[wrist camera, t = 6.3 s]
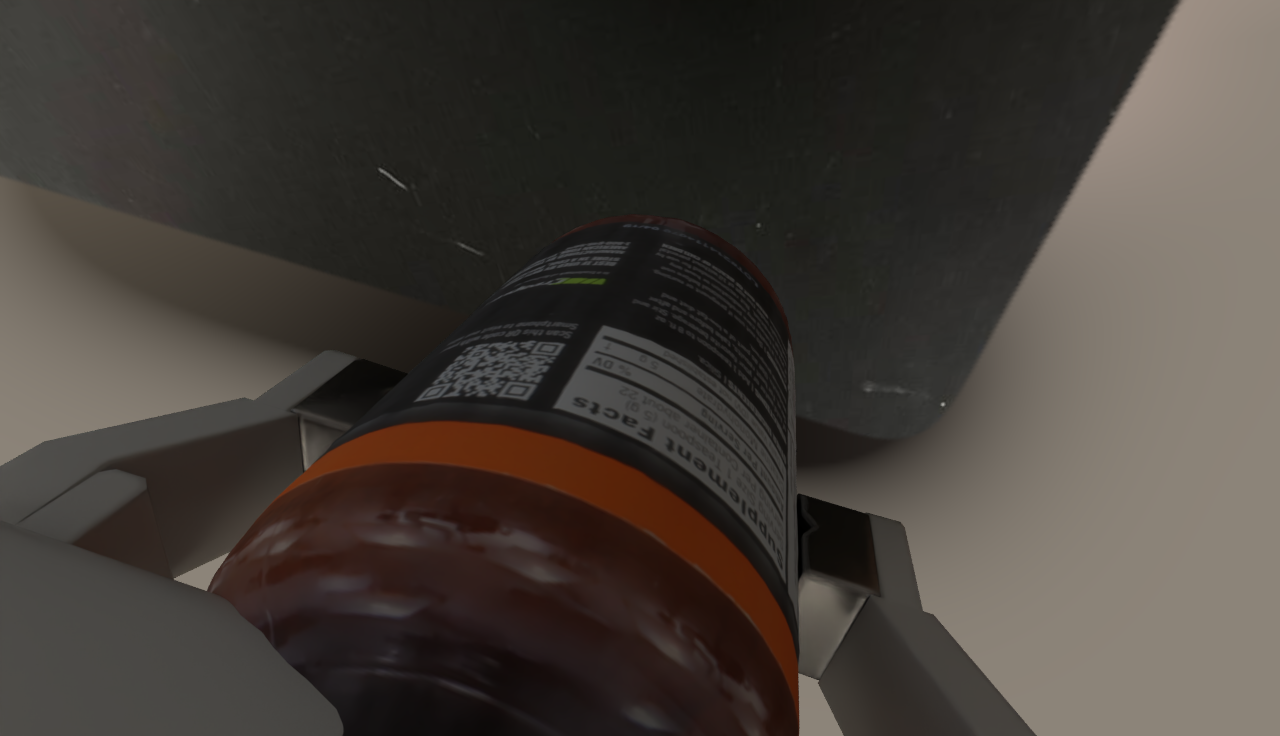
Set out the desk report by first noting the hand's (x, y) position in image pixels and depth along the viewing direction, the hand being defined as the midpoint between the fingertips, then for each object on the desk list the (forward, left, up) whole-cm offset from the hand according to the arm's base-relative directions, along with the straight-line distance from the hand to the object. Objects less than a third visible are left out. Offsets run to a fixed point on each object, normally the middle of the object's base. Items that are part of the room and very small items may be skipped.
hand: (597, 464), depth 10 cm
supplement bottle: (0, 0, -4) cm, 4 cm away
